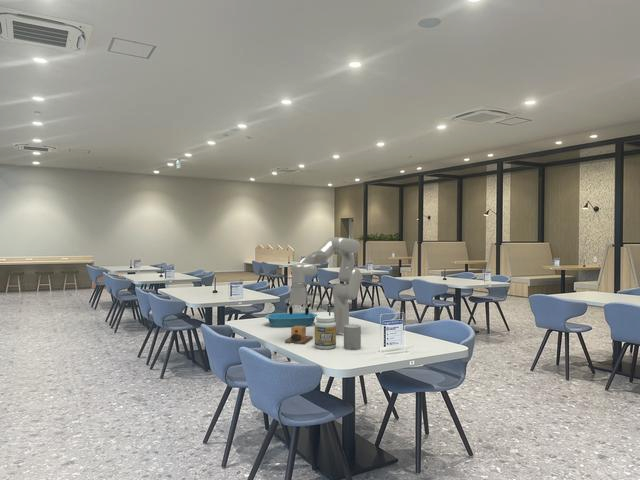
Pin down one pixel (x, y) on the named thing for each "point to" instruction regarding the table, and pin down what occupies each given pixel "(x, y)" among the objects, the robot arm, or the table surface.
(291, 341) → the rail board
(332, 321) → the supplement tub
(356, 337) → the gray cylinder
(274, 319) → the casserole dish
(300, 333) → the lock block
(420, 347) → the table surface
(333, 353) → the table surface
